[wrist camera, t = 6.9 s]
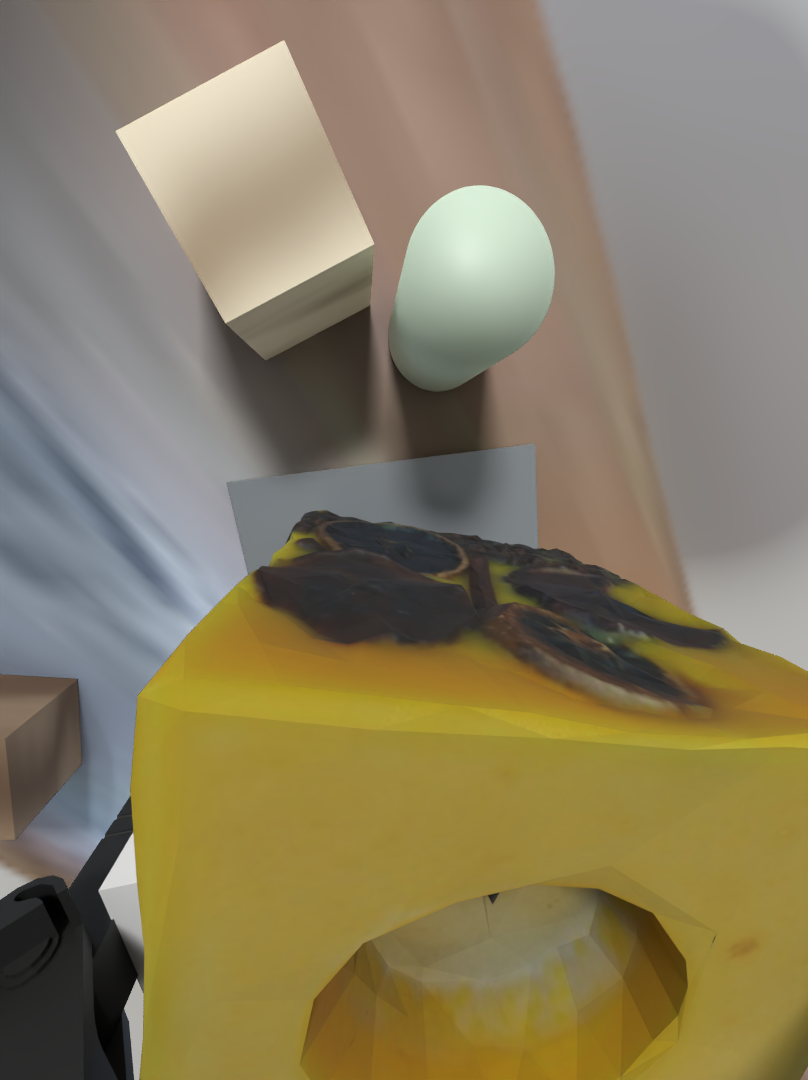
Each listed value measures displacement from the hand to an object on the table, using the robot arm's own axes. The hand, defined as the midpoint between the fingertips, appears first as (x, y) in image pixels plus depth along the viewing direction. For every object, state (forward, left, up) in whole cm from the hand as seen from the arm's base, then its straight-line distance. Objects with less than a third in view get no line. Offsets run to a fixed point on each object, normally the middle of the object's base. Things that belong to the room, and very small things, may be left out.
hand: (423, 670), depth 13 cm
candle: (0, 0, -1) cm, 1 cm away
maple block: (-15, -3, -6) cm, 17 cm away
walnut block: (+3, -19, -6) cm, 21 cm away
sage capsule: (-12, +3, -6) cm, 14 cm away
